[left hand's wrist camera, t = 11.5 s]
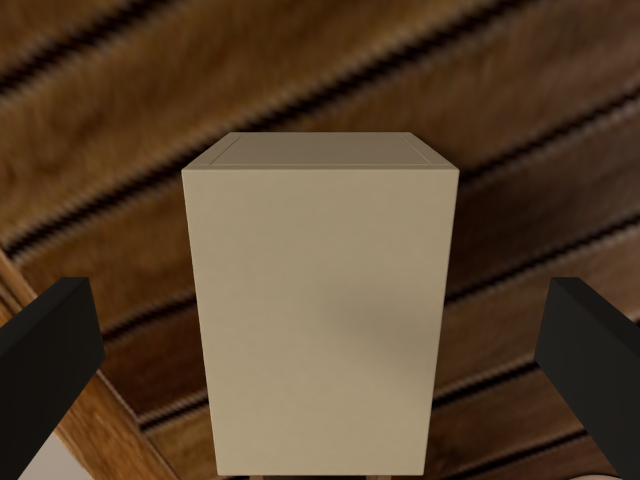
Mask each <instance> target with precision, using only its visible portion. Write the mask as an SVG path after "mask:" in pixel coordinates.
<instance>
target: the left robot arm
mask: <svg viewBox="0 0 640 480" xmlns="http://www.w3.org/2000/svg"><path fill="white" fill-rule="evenodd" d="M105 359H106V355H105V350H104V346H103V341H102V336H101V332H100V327H99V323H98V318H97V313H96V309H95V304H94V300H93V295H92V291H91V286H90V281H89V277H61V278H60V279H59V280H58V281H57V282H55V283H54V284H53V285H52V286H50V287H49V288H48V289H47V290H46V291H44V292H43V293H42V294H41V295H40V296H38V297H37V298H36V299H35V300H34V301H32V302H31V303H30V304H29V305H27V306H26V307H25V308H24V309H23V310H21V311H20V312H19V313H18V314H17V315H15V316H14V317H13V318H12V319H11V320H9V321H8V322H7V323H6V324H4V325H3V326H2V327H1V328H0V480H18V478H19V477H20V476H21V474H22V473H23V471H24V470H25V469H26V467H27V466H28V465H29V463H30V462H31V461H32V459H33V458H34V456H35V455H36V454H37V452H38V451H39V449H40V448H41V447H42V445H43V444H44V443H45V441H46V440H47V439H48V437H49V436H50V434H51V433H52V432H53V430H54V429H55V428H56V426H57V425H58V423H59V422H60V421H61V419H62V418H63V417H64V415H65V414H66V412H67V411H68V410H69V408H70V407H71V406H72V404H73V403H74V401H75V400H76V399H77V397H78V396H79V395H80V393H81V392H82V390H83V389H84V388H85V386H86V385H87V384H88V382H89V381H90V379H91V378H92V377H93V375H94V374H95V373H96V371H97V370H98V368H99V367H100V366H101V364H102V363H103V362H104V360H105ZM534 359H535V360H536V362H537V363H538V364H539V366H540V367H541V368H542V370H543V371H544V373H545V374H546V375H547V377H548V378H549V379H550V381H551V382H552V384H553V385H554V386H555V388H556V389H557V390H558V392H559V393H560V395H561V396H562V397H563V399H564V400H565V401H566V403H567V404H568V406H569V407H570V408H571V410H572V411H573V412H574V414H575V415H576V417H577V418H578V419H579V421H580V422H581V423H582V425H583V426H584V428H585V429H586V430H587V432H588V433H589V434H590V436H591V437H592V439H593V440H594V441H595V443H596V444H597V445H598V447H599V448H600V450H601V451H602V452H603V454H604V455H605V456H606V458H607V459H608V461H609V462H610V463H611V465H612V466H613V467H614V469H615V470H616V472H617V473H618V474H619V476H620V477H621V478H622V480H640V328H639V327H638V326H637V325H636V324H634V323H633V322H632V321H631V320H629V319H628V318H627V317H626V316H625V315H623V314H622V313H621V312H620V311H619V310H617V309H616V308H615V307H614V306H613V305H611V304H610V303H609V302H608V301H606V300H605V299H604V298H603V297H602V296H600V295H599V294H598V293H597V292H596V291H594V290H593V289H592V288H591V287H590V286H588V285H587V284H586V283H585V282H583V281H582V280H581V279H580V278H579V277H551V281H550V286H549V291H548V295H547V300H546V304H545V309H544V313H543V318H542V323H541V327H540V332H539V336H538V341H537V346H536V350H535V355H534Z"/></svg>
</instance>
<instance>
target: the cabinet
mask: <svg viewBox="0 0 640 480" xmlns="http://www.w3.org/2000/svg"><path fill="white" fill-rule="evenodd" d="M182 178H183V187H184V195H185V203H186V212H187V220H188V228H189V237H190V245H191V253H192V262H193V270H194V279H195V287H196V295H197V304H198V312H199V320H200V329H201V337H202V345H203V354H204V362H205V370H206V379H207V387H208V395H209V404H210V412H211V420H212V429H213V437H214V445H215V454H216V462H217V471H218V475H423V473H424V465H425V456H426V448H427V440H428V431H429V423H430V414H431V406H432V398H433V389H434V381H435V372H436V364H437V356H438V347H439V339H440V330H441V322H442V314H443V305H444V297H445V288H446V280H447V272H448V263H449V255H450V246H451V238H452V230H453V221H454V213H455V204H456V196H457V188H458V179H459V169H457V168H456V167H455V166H454V165H453V164H451V163H450V162H449V161H447V160H446V159H445V158H443V157H442V156H441V155H440V154H438V153H437V152H436V151H434V150H433V149H432V148H430V147H429V146H428V145H426V144H425V143H424V142H422V141H421V140H420V139H419V138H417V137H416V136H415V135H413V134H412V133H410V132H231V133H229V134H228V135H226V136H225V137H224V138H222V139H221V140H220V141H218V142H217V143H216V144H214V145H213V146H212V147H211V148H209V149H208V150H207V151H205V152H204V153H203V154H201V155H200V156H199V157H198V158H196V159H195V160H194V161H192V162H191V163H190V164H188V166H187V167H185V168H184V169H183V170H182Z"/></svg>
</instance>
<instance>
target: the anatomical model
mask: <svg viewBox="0 0 640 480" xmlns="http://www.w3.org/2000/svg"><path fill="white" fill-rule="evenodd" d="M570 480H622V479H619V478H615V477H611V476H604V475H587V476H580V477H576V478H573V479H570Z"/></svg>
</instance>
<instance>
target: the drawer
mask: <svg viewBox="0 0 640 480" xmlns="http://www.w3.org/2000/svg"><path fill="white" fill-rule="evenodd" d="M250 480H391V475H250Z"/></svg>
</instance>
